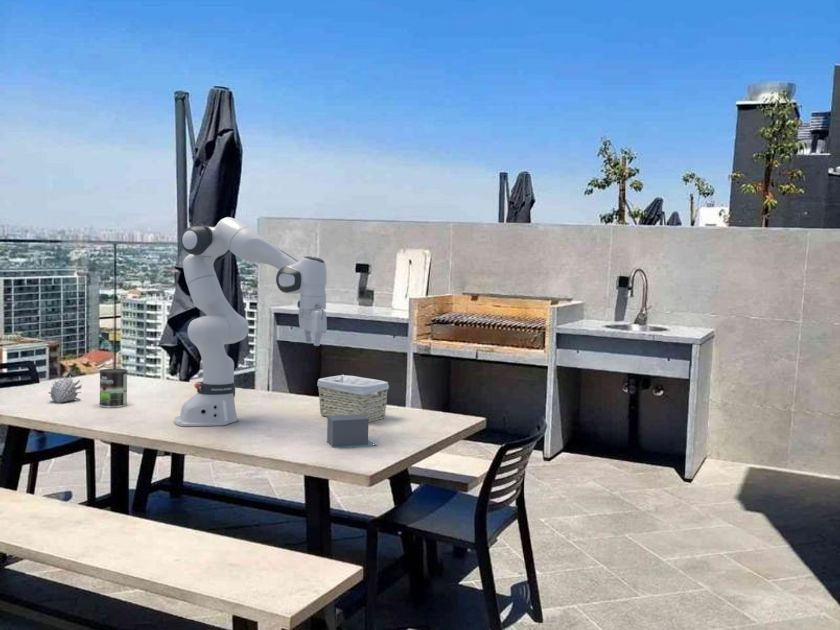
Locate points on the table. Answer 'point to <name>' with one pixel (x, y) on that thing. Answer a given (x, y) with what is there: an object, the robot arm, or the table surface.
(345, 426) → the slate gray brick
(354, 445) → the teal flat pad
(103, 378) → the coffee can
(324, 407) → the storage basket
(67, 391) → the sea urchin
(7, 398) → the table surface
